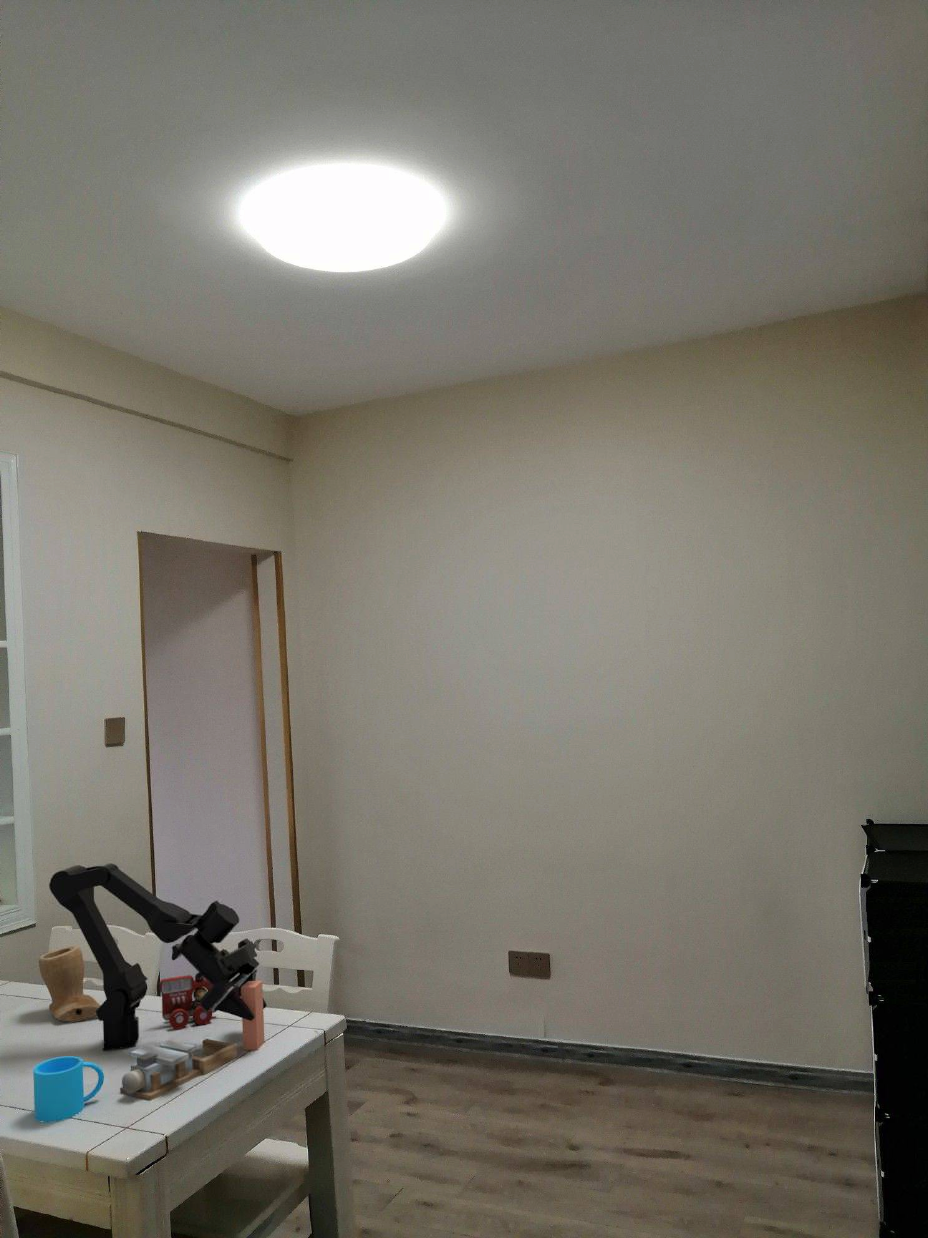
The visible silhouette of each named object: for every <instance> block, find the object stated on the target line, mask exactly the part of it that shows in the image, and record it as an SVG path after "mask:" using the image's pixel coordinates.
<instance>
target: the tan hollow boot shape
mask: <svg viewBox="0 0 928 1238" xmlns="http://www.w3.org/2000/svg"><path fill="white" fill-rule="evenodd" d="M38 967H39V968H38V969H39V972H40V973H39V974H40V976H41V978H42V980H43V982H44V984H45V986H46V988H47V990H48V992H49V995H50V998H51V1003H49V1006H48V1011H49V1012H50V1013H51V1015H52V1016H53V1017H55V1019H57V1020H58V1021H59V1020H60V1021H65V1022H75V1023H76V1022H82V1021H85V1020H87V1019H90V1018H93V1017H94V1016H97V1014H96V1010H97V1009H98V1008H99V1007H100V1006H101V1005H100V1003H98V1002H97V1000H96V999H95V998H94V997H92V996H91V995H89V994H84V977H85V963H84V957H83V951H82V950H81V948H80V947H79V946H73V945H70V946H65V947H62V948H58V949H56V950H53V951H52V950H51V951H49V952H46V953H44V954H43V955H41V956H39V958H38Z"/></svg>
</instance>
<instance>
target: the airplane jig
mask: <svg viewBox="0 0 928 1238" xmlns="http://www.w3.org/2000/svg"><path fill="white" fill-rule="evenodd" d="M201 1045H202V1046H201V1047H202V1054H204V1055H207V1056H205V1057H201V1056H196V1055H193V1052H195V1051H196V1045H193V1044H187V1043H182V1042H177V1041H173V1040H168V1041H165V1042H163V1043H161V1044H159V1046H156V1045H152V1044H151V1045H150V1044H146V1045H144V1046H142V1047H139V1048H137V1049H135V1050H132V1051H130V1056H131V1058H134V1059H136V1063H133V1064H132V1065H130V1071H128V1072H127V1073H125V1074H123V1076H122V1078H121V1084H122V1087H120V1088H119V1089H120V1090H119V1091H120V1093H121V1094H124V1095H128V1096H129V1095H130V1096H132V1097H135V1098H136V1097H137V1098H140V1099H144V1100H148V1101H152V1100H154V1099H156V1098H159V1097H160V1096H162V1095H164V1094H165V1093H168V1092H169V1091H172V1090H174V1089H175V1088H177V1087H179V1086H182V1085H183V1084H185V1083H187V1082H189V1081H191V1080H193V1079H195V1078H196V1077H199V1076H200V1075H206V1074H208V1073H210V1072H213V1071H214V1070H216V1069H218V1068H220V1067H222V1066H224V1065H226V1064H228V1063H229V1062H233V1060H236V1059H238V1049H237V1048H238V1046H237V1044H234V1043H229V1042H224V1041H218V1040H214V1039H210V1038H205V1039H204V1040H202V1044H201Z"/></svg>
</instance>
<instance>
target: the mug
mask: <svg viewBox="0 0 928 1238" xmlns="http://www.w3.org/2000/svg"><path fill="white" fill-rule="evenodd" d="M84 1068H91V1069H93V1070H94V1071H95V1072H96V1073H97V1077H98V1078H97V1079H98V1080H97V1083H96V1085H95V1087H94V1088H93V1089H92V1090H91V1092H90V1093H88V1094H86V1095H85V1096H84V1093H85V1092H84ZM32 1071H33V1072H32V1073H33V1102H34V1103H33V1108H34V1120H36V1119H37V1120H36V1121H38V1122H41V1121H43V1122H42V1123H53V1122H52V1121H57V1122H61V1120H62V1121H64V1120H63V1119H66V1120H68V1119H71V1118H73V1116H74V1117H76V1116H77V1115H79V1114H80V1113H82V1110H84V1109H85V1102H88V1101H89V1100H91V1099H92V1098H94V1097H95V1096H96V1095H97V1094H98V1093H99V1091H100V1090H101V1088H102V1086H103V1084H104V1080H105V1075H104V1071H103V1069H102V1068H101V1067H100V1065H98V1064H96V1063H94V1062H88V1061H83V1059H82V1058H80V1057H79V1056H73V1055H71V1056H69V1055H68V1056H67V1055H65V1056H59V1057H54V1058H53V1057H52V1058H51V1059H47V1060H44V1061H42V1062H39V1063H38V1064H37V1065H35V1066H34V1067H33V1069H32ZM83 1108H84V1109H83ZM79 1112H80V1113H79ZM76 1114H77V1115H76ZM70 1117H71V1118H70Z"/></svg>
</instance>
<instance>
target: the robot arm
mask: <svg viewBox="0 0 928 1238" xmlns="http://www.w3.org/2000/svg"><path fill="white" fill-rule="evenodd" d="M99 886H100V887H102V888H103V889H105V890H106V891H108V892H109V893H110V894H112V895H113V896H114V897H115V898H117V899H118V900H119V901H121V902H122V903H124V904H125V905H126V906H127V907H129V908H130V909H131V910H133V911H134V912H136V914H138V915H140V916H141V917H142V918H143V919H144V920H145V921H146V924H147V926H148V928H149V929H150V931H151V932H152V933H153V935H155V936H156V937H157V938H158V940H160V942H163V943H165V944H171V943H175V942H176V941H178V940H179V939H182V938H183V937H184V936H186V937H185V938H183V940H182V941H181V942H180V943H175V944H174V945H173V946H171V950H172V952H171V960H172V961H175V960H177V959H179V958H180V957H181V956H183V957H184V958H185V959H186V961H188V963H189V964H190V965H191V966H192V967H193V968H194V969H195V970H196V971H197V973H198V972H199V973H198V974H197V973H196V974H197V975H196V974H195V975H196V976H197V977H198V978H199V979H200V978H202V977H204V979H206V980H207V981H208V982H209V983H210V984H211V985H212V987H211V988H210V989H209V990H207V993H206V994H205V995H204V996H203V997H202V998H201V999H200V1006H201V1007H202V1008H203V1010H204V1011H205V1012H206V1013H207V1012H209V1011H210V1010H211V1009H212V1008H213V1007H214V1005H215V1003H217V1004H218V1005H217V1006H216V1007H215V1009H214V1010H215V1011H216V1012H223V1013H226V1014H229V1015H232V1016H236V1017H238V1018H241V1019H242V1018H244V1019H247V1020H249V1021H252V1020H253V1019H254V1018H255V1016H254V1015H253V1013H252V1012H251V1010H250V1009H249V1008H248V1006H247V1005H246V1004H245V1003H244V1001H243V1000H242V999H241V987H242V986H243V985H244V984H245V983H247V982H248V981H257V980H256V979H257V977H256V976H257V973H258V969H257V968H258V967H259V965H260V962H259V961H257V959H256V957H258V955H257V952H256V948H257V945H256V944H255V943H254V942H253V941H251V940H250V939H248V938H247V937H246V938H244V939H243V940H241V941H239V942H238V943H237V948H235V949H234V950H232V951H230V952H229V951H228V950H227V949H224V948H222V949H221V950H220V949H218V947H216V946H215V944H219V943H222V942H223V941H224V940H225V938H227V936H228V935H229V934H230V933H231V932H232V931H233V930H234V928H235V927H236V926H237V925H238V924H239V923H240V917H239V915H238V913H237V912H236V911H235V910H234V909H233V908H232V907H229V906H228V905H226V904H224V903H223V904H222V903H220V902H219V901H218V900H214V901H212V903H210V904H209V906H208V907H207V909H206V910H205V912H204V913H203V914H198V913H197V914H196V913H191V912H190V911H189V910H187V909H185V908H183V907H181V906H179V905H177V904H176V903H172V902H168V901H166V900H162V899H160V898H158V897H157V896H156V895H154V894H153V893H152V892H151V891H149V890H148V889H147V888H145V887H144V886H143V885H141V884H140V883H139V882H137V881H136V880H134V879H133V878H131V877H130V876H129V875H128V874H126V873H125V872H124V871H122V870H121V869H120V868H119V866H118V865H116V864H115V863H112V862H111V863H105V864H104V865H103V864H102V865H94V866H88V867H86V866H82V865H80V864H79V865H77V864H76V865H73V866H70V867H67V868H65V869H62V870H59V871H56V872H55V873H53V875H52V876H51V879H50V881H49V884H48V888H49V891H50V893H51V894H52V895H53V897H54V898H55V900H56V901H57V902H58V904H59V905H60V906H62V908H64V909H66V910H67V911H69V912H70V913H71V914H72V916H73V918H74V920H75V921H76V923H77V926H78V928H79V929H80V931H81V933H82V935H83V937H84V939H85V941H86V943H87V945H88V947H89V949H90V950H91V952H92V955H93V956H94V958H95V960H96V962H97V964H98V966H99V968H100V970H101V972H102V977H103V979H102V980H103V981H102V985H103V989H102V990H103V991H104V995H105V998H106V999H105V1000H104V1001H103V1002H102V1004H101V1005H100V1007H99V1008H98V1009H97V1010H96V1017H97V1019H98V1021H99V1022H102V1030H103V1031H102V1032H103V1036H102V1037H103V1045H102V1047H101V1048H102V1051H110V1050H111V1051H112V1050H118V1049H125V1048H132V1047H133V1048H134V1047H136V1044H137V1041H138V1040H139V1039H140V1026H139V1023H140V1022H139V1019H140V1018H139V1016H136V1009H138V1008H139V1007H140V1005H141V1001H142V1000H143V999H144V998H145V997H146V996H147V992H148V984H147V980H148V977H147V976H145V974H144V973H143V970H142V968H141V967H142V966H141V965H140V964H139V962H136V963H135V964H133V965H132V964H130V963H129V962H127V961H126V959H125V958H124V956H123V954H122V953H121V951H120V948H119V947H118V945H117V941H115V938H114V936H113V935H112V933H111V931H110V929H109V926H108V925H107V923H106V921H105V919H104V918H103V915H102V913H101V911H100V910H99V908H98V906H97V904H96V901H95V887H99ZM195 930H197V931H196V932H194V931H195ZM192 932H194V934H190V933H192ZM266 1007H267V1002H266V999H264V997H263V1010H265V1008H266Z"/></svg>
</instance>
